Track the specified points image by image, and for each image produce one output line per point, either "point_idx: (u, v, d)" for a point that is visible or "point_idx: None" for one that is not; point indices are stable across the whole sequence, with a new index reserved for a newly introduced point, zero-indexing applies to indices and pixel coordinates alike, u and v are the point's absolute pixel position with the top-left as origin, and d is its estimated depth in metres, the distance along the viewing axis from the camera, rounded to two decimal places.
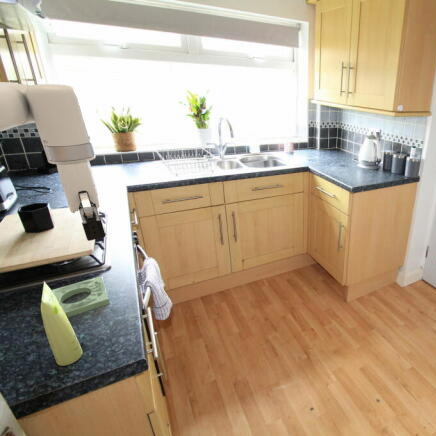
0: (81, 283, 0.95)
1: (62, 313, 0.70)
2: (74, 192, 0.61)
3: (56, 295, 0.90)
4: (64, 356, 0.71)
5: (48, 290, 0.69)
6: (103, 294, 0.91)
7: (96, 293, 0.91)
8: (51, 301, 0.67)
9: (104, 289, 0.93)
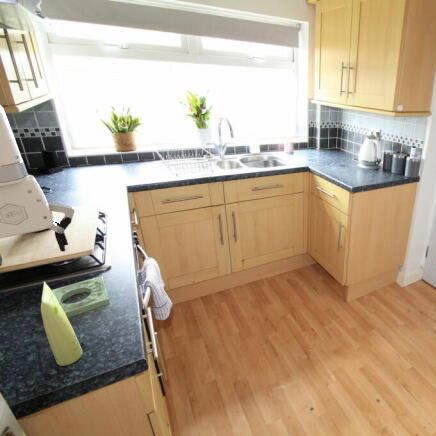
0: (81, 283, 0.95)
1: (62, 313, 0.70)
2: (47, 203, 0.61)
3: (56, 295, 0.90)
4: (64, 356, 0.71)
5: (48, 290, 0.69)
6: (103, 294, 0.91)
7: (96, 293, 0.91)
8: (51, 301, 0.67)
9: (104, 289, 0.93)
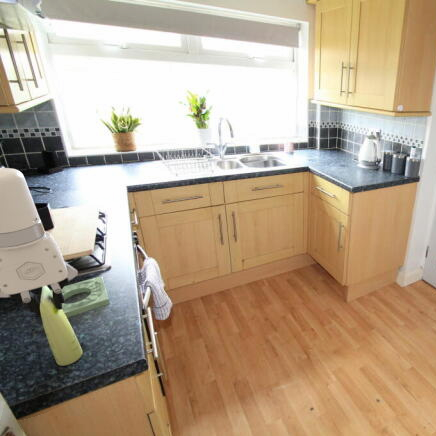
0: (81, 283, 0.95)
1: (61, 313, 0.70)
2: (62, 258, 0.66)
3: None
4: (64, 356, 0.71)
5: (47, 290, 0.69)
6: (103, 294, 0.91)
7: (96, 293, 0.91)
8: (51, 301, 0.67)
9: (104, 289, 0.93)
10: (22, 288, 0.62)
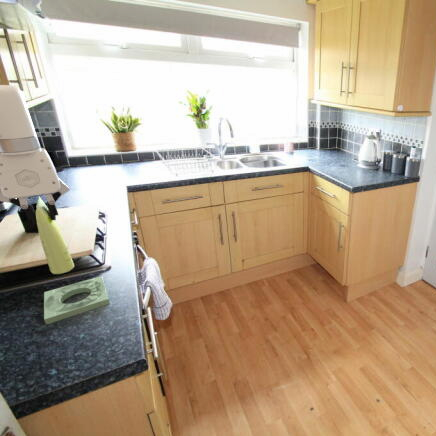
0: (81, 283, 0.95)
1: (55, 225, 0.79)
2: (55, 172, 0.75)
3: (56, 295, 0.90)
4: (57, 264, 0.81)
5: (43, 203, 0.78)
6: (103, 294, 0.91)
7: (96, 293, 0.91)
8: (45, 211, 0.77)
9: (104, 289, 0.93)
10: (20, 193, 0.72)
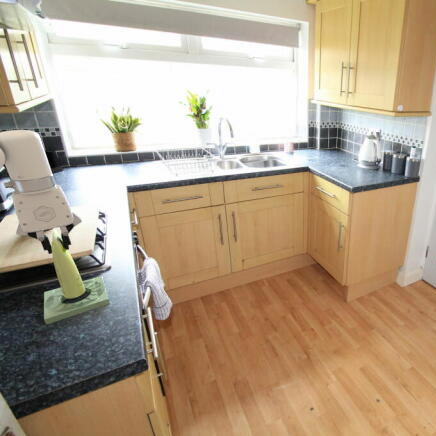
0: None
1: (68, 253, 0.85)
2: (69, 206, 0.81)
3: (56, 295, 0.90)
4: (70, 290, 0.87)
5: (57, 234, 0.84)
6: (103, 294, 0.91)
7: (96, 293, 0.91)
8: (60, 242, 0.83)
9: (104, 289, 0.93)
10: (38, 227, 0.78)
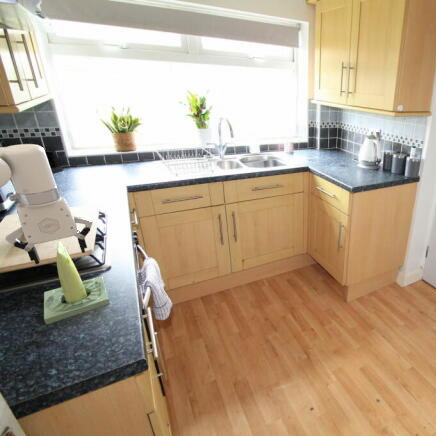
0: None
1: (72, 265, 0.87)
2: (73, 217, 0.83)
3: (56, 295, 0.90)
4: (74, 300, 0.88)
5: (62, 245, 0.86)
6: (103, 294, 0.91)
7: (96, 293, 0.91)
8: (64, 253, 0.84)
9: (104, 289, 0.93)
10: (42, 239, 0.79)
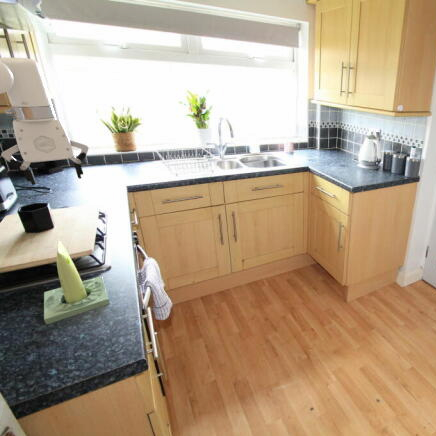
0: None
1: (72, 265, 0.87)
2: None
3: (56, 295, 0.90)
4: (74, 300, 0.88)
5: (62, 245, 0.86)
6: (103, 294, 0.91)
7: (96, 293, 0.91)
8: (64, 253, 0.84)
9: (104, 289, 0.93)
10: (38, 158, 0.79)
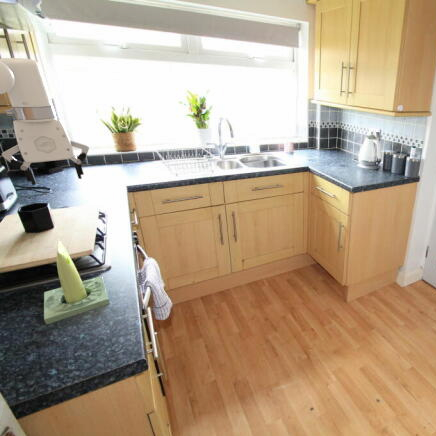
0: None
1: (72, 265, 0.87)
2: (69, 140, 0.83)
3: (56, 295, 0.90)
4: (74, 300, 0.88)
5: (62, 245, 0.86)
6: (103, 294, 0.91)
7: (96, 293, 0.91)
8: (64, 253, 0.84)
9: (104, 289, 0.93)
10: (38, 158, 0.79)
